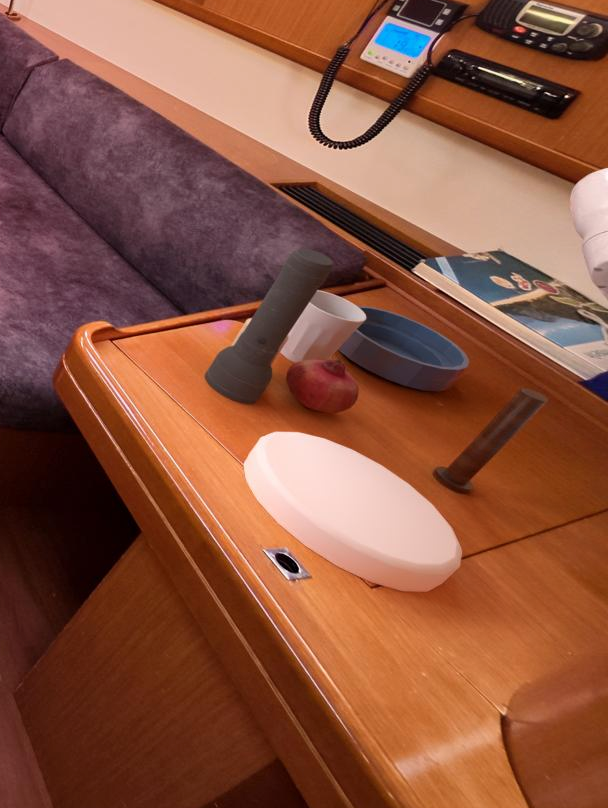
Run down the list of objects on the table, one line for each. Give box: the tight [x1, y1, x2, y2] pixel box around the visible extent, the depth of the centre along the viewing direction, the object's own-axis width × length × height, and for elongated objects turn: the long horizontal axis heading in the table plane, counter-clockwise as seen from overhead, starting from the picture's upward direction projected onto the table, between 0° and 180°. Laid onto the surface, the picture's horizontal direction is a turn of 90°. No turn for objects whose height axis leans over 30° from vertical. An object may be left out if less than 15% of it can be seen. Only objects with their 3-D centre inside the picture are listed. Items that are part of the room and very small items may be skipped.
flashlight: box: [204, 247, 334, 405], centre depth 99 cm, size 7×28×7 cm
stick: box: [432, 387, 549, 495], centre depth 87 cm, size 4×4×18 cm
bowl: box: [337, 305, 470, 392], centre depth 111 cm, size 15×15×6 cm
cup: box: [279, 289, 366, 364], centre depth 110 cm, size 8×8×12 cm
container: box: [242, 431, 463, 593], centre depth 85 cm, size 20×20×5 cm
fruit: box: [285, 358, 360, 414], centre depth 101 cm, size 8×8×10 cm
